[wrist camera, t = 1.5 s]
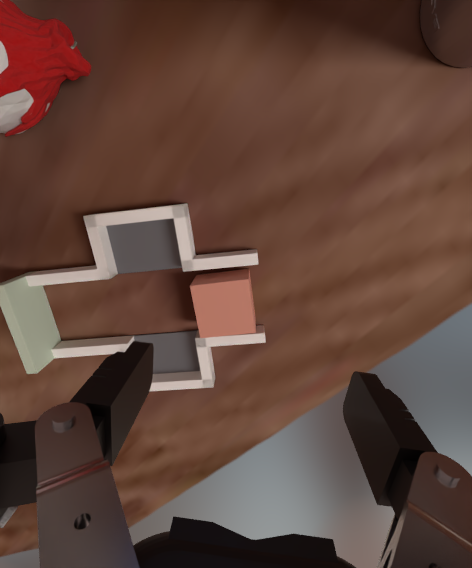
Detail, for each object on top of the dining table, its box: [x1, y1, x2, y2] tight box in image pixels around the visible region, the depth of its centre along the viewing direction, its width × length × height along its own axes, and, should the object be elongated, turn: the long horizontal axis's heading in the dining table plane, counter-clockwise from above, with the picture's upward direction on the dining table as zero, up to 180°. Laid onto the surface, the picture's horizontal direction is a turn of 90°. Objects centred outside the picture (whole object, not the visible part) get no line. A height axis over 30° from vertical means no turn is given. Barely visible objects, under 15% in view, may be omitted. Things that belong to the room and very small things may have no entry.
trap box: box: [0, 203, 266, 391], centre depth 32 cm, size 27×22×5 cm
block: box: [190, 269, 256, 338], centre depth 32 cm, size 6×6×4 cm
